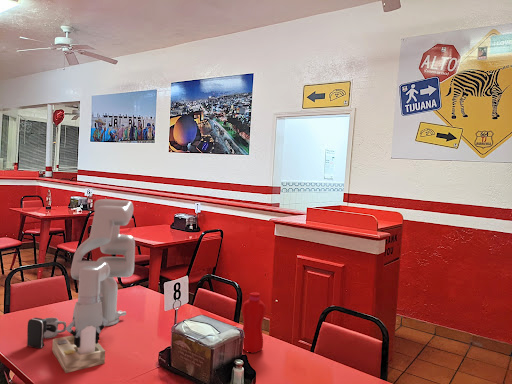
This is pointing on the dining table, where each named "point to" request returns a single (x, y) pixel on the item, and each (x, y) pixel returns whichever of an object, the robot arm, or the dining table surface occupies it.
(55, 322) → the mug
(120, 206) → the robot arm
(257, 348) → the water bottle
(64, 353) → the holder block
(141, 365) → the dining table surface
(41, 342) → the battery charger
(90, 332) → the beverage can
